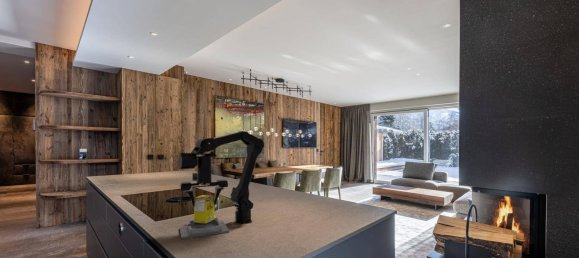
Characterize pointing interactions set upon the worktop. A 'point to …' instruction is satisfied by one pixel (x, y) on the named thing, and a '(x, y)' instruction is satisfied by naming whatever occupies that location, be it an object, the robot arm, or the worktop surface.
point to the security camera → (216, 206)
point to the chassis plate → (202, 229)
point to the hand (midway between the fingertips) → (204, 205)
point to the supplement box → (204, 209)
